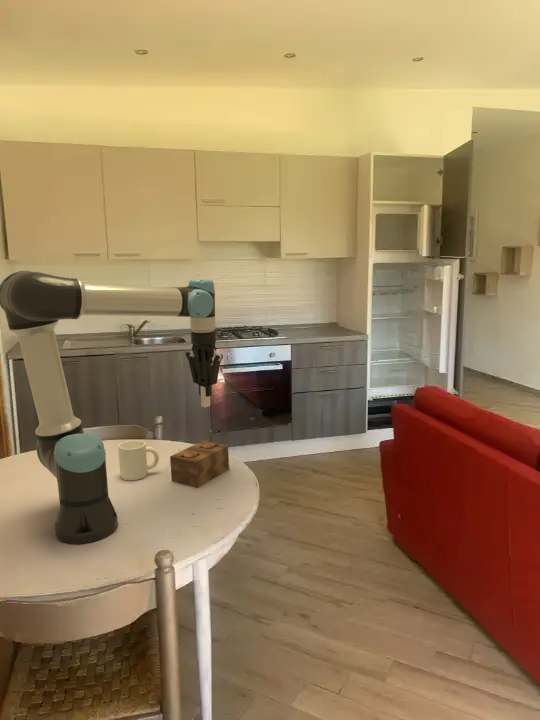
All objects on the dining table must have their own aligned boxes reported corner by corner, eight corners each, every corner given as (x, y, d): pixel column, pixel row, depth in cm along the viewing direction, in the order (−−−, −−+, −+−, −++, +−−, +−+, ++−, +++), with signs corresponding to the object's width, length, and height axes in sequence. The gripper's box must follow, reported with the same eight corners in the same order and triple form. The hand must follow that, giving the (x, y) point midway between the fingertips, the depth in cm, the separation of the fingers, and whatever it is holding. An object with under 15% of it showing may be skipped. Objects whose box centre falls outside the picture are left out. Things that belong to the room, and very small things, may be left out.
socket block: (197, 487, 162) (196, 462, 161) (171, 481, 168) (170, 456, 166) (229, 469, 176) (228, 445, 174) (204, 463, 181) (203, 440, 179)
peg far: (210, 470, 173) (209, 447, 171) (200, 468, 175) (199, 445, 173) (218, 466, 176) (217, 443, 175) (208, 464, 178) (207, 441, 177)
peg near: (192, 480, 165) (191, 457, 164) (182, 478, 167) (180, 454, 166) (200, 476, 168) (199, 452, 167) (190, 473, 170) (189, 450, 169)
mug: (159, 468, 178) (157, 437, 176) (160, 478, 170) (158, 446, 168) (120, 472, 176) (118, 441, 174) (120, 482, 168) (117, 450, 166)
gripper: (228, 330, 167) (230, 406, 171) (194, 328, 173) (197, 400, 178) (212, 333, 160) (215, 411, 165) (178, 330, 167) (181, 406, 171)
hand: (205, 406), depth 171 cm, fingers closed
